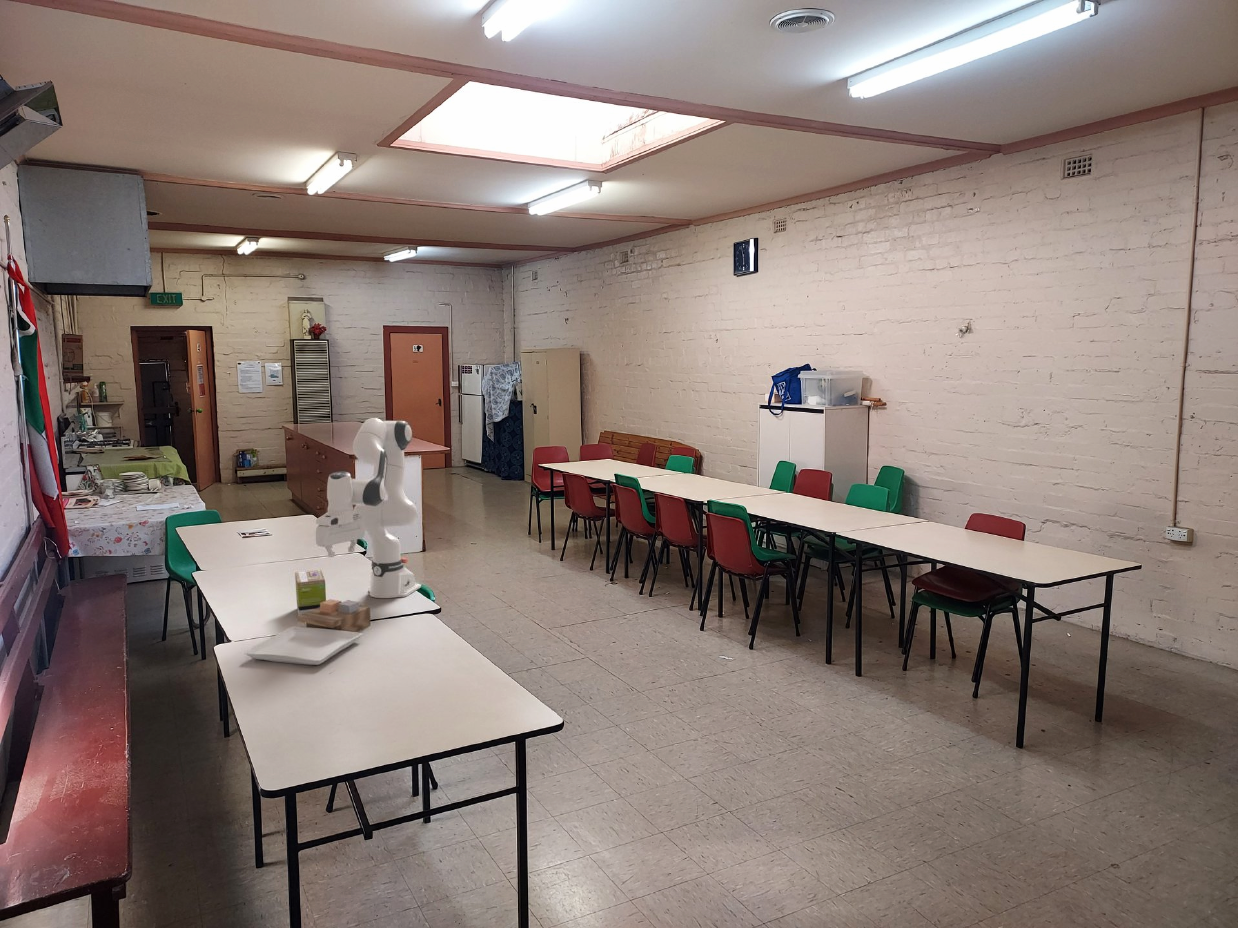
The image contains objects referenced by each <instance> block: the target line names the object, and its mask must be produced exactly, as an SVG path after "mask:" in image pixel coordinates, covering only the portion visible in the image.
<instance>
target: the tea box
mask: <svg viewBox="0 0 1238 928" xmlns="http://www.w3.org/2000/svg"><path fill="white" fill-rule="evenodd" d="M323 574H324V573H323V571H322V569H316V570H308V571H307V570H306V571H299V572H298V571H297V572H295V573H294V577H295V578H294V579H295V593H296V594H295V595H296V609H297V614H298V615H301V614H303V613H306V612H308V611H311V610H314V609H316V608H319V607H320V603H321V602H324V601H327V594H326V593H327V592H326V590H327V589H326V579H325V577H324V575H323ZM298 615H297V616H298Z"/></svg>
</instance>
